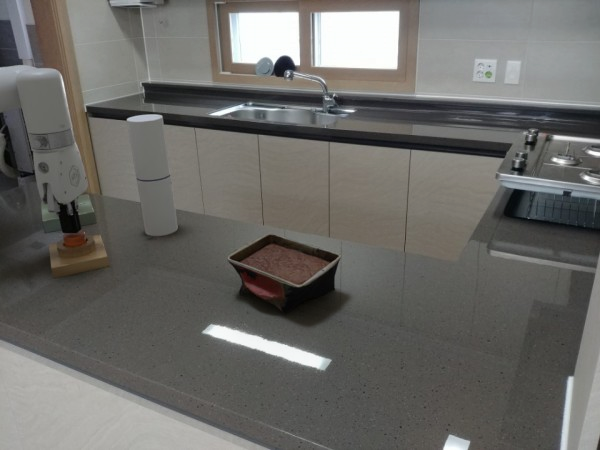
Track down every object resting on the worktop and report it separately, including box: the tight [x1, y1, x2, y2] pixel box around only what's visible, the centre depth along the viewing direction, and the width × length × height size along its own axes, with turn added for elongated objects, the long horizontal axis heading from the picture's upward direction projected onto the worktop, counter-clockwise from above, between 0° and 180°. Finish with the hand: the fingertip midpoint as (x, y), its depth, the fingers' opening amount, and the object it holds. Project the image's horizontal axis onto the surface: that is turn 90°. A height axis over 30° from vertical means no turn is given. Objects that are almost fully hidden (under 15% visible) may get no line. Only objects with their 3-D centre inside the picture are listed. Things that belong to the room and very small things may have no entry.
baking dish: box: [226, 233, 342, 315], centre depth 91 cm, size 14×18×10 cm
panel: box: [40, 193, 97, 234], centre depth 128 cm, size 14×11×3 cm
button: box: [62, 229, 86, 247], centre depth 105 cm, size 4×4×2 cm
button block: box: [48, 233, 110, 279], centre depth 106 cm, size 12×10×4 cm
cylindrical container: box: [126, 113, 179, 237], centre depth 115 cm, size 7×7×25 cm
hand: (72, 231), depth 105 cm, fingers closed
